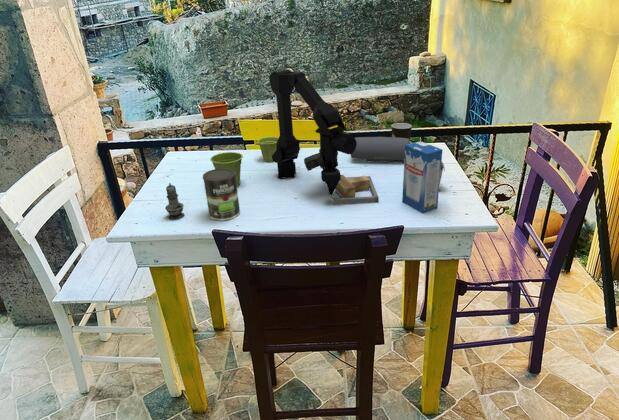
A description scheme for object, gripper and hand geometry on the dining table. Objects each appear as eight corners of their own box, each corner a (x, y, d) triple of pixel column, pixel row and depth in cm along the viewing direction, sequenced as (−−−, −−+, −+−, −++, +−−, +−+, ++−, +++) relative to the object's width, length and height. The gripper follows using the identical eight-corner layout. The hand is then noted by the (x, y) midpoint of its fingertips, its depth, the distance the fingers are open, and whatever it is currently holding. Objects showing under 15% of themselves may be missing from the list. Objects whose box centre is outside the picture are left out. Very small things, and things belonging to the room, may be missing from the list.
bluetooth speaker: (407, 157, 188) (408, 134, 183) (407, 165, 180) (409, 141, 175) (352, 156, 192) (352, 133, 187) (350, 164, 184) (350, 140, 179)
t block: (344, 199, 155) (344, 189, 153) (332, 186, 165) (332, 176, 163) (374, 194, 157) (374, 183, 156) (361, 181, 168) (361, 171, 166)
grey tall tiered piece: (169, 212, 152) (162, 180, 147) (186, 211, 152) (180, 178, 147) (165, 221, 147) (158, 187, 141) (184, 219, 147) (177, 185, 142)
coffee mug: (410, 151, 193) (411, 128, 189) (390, 151, 195) (390, 128, 191) (410, 142, 203) (412, 121, 199) (391, 142, 205) (392, 120, 201)
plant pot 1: (252, 184, 170) (249, 155, 165) (227, 194, 163) (223, 165, 158) (233, 176, 178) (229, 149, 173) (208, 186, 170) (203, 158, 165)
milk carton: (402, 202, 151) (405, 144, 142) (416, 197, 154) (420, 141, 145) (422, 213, 143) (427, 153, 134) (437, 208, 146) (442, 149, 137)
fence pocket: (333, 204, 152) (333, 200, 151) (329, 182, 168) (329, 178, 167) (378, 202, 152) (378, 197, 151) (370, 180, 168) (370, 176, 167)
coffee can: (244, 216, 147) (239, 176, 141) (213, 223, 144) (206, 183, 137) (235, 204, 156) (230, 165, 149) (206, 210, 152) (199, 171, 146)
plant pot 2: (257, 157, 195) (255, 138, 191) (278, 154, 198) (277, 135, 194) (261, 165, 187) (259, 145, 183) (283, 161, 190) (282, 141, 186)
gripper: (304, 139, 160) (306, 180, 167) (305, 158, 144) (307, 202, 151) (335, 138, 160) (336, 178, 167) (340, 156, 144) (341, 200, 151)
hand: (329, 189), depth 159 cm, fingers open, 9 cm apart
